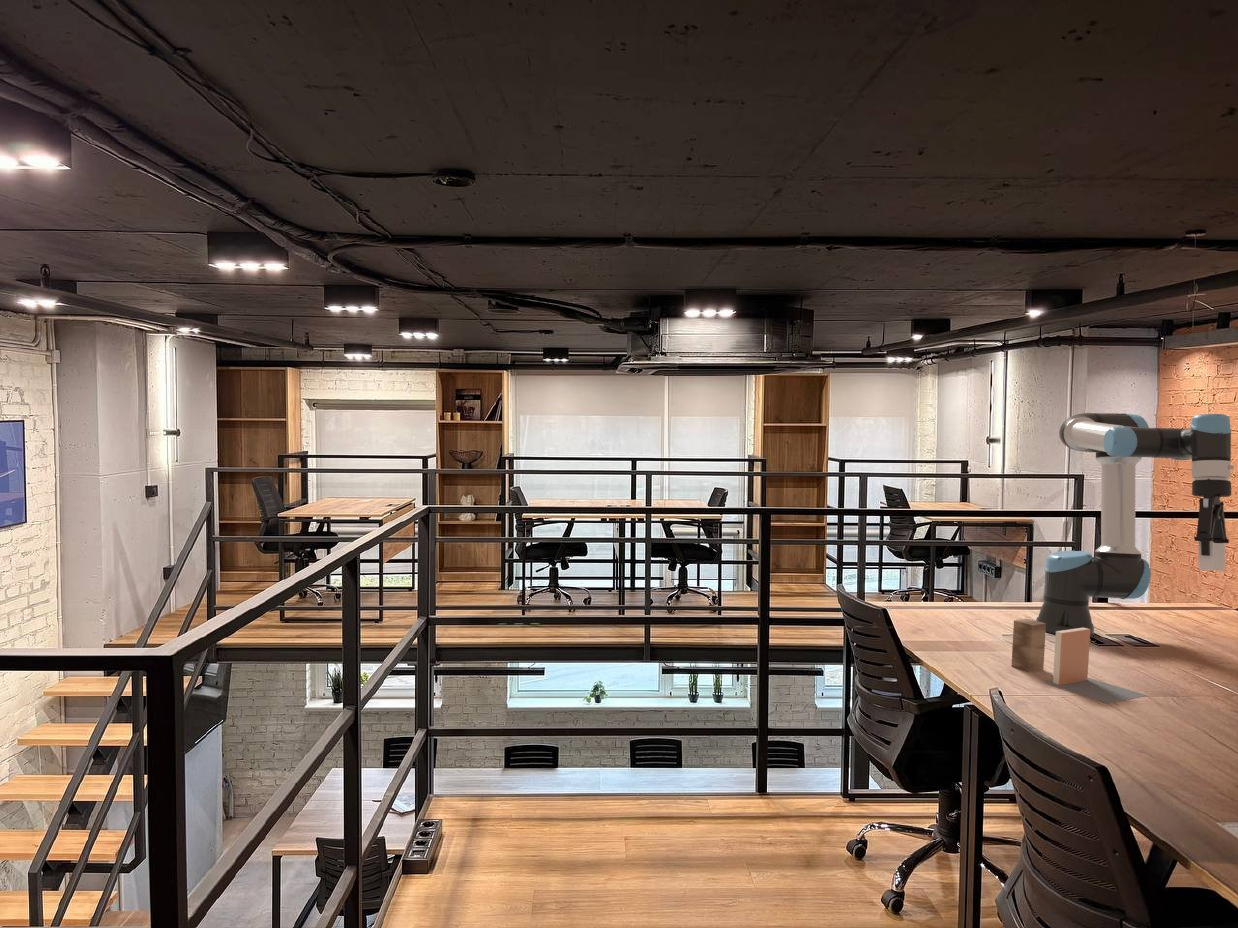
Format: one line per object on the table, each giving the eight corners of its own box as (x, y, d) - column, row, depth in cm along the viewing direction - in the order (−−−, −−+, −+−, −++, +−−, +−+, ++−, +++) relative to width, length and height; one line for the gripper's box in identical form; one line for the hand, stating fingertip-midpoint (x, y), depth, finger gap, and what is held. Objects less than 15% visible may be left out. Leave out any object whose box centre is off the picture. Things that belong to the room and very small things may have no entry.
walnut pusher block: (1011, 668, 201) (1013, 620, 201) (1024, 666, 204) (1027, 618, 203) (1029, 674, 197) (1032, 625, 196) (1043, 672, 199) (1046, 623, 199)
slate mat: (1043, 685, 189) (1043, 682, 189) (1082, 678, 195) (1082, 675, 195) (1107, 706, 175) (1108, 703, 175) (1147, 697, 182) (1147, 695, 182)
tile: (1052, 682, 189) (1055, 631, 188) (1080, 677, 194) (1083, 627, 193) (1059, 684, 187) (1062, 633, 187) (1087, 679, 192) (1090, 629, 191)
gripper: (1220, 475, 182) (1221, 571, 180) (1240, 483, 200) (1241, 571, 198) (1180, 475, 187) (1181, 569, 186) (1203, 483, 205) (1204, 569, 203)
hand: (1212, 570), depth 192 cm, fingers open, 13 cm apart
